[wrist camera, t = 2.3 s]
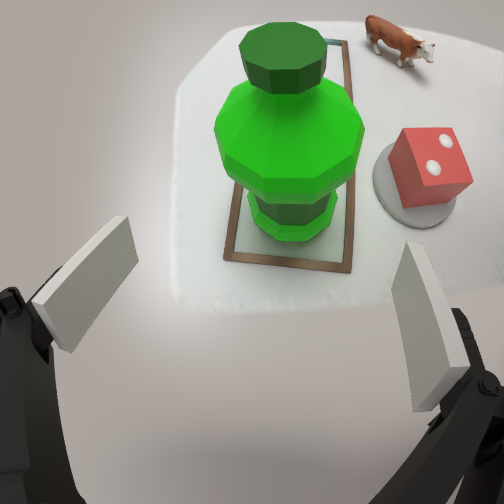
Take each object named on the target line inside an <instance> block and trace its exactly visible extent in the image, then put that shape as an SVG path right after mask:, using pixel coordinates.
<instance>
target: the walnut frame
mask: <svg viewBox="0 0 504 504" xmlns="http://www.w3.org/2000/svg"><path fill="white" fill-rule="evenodd" d="M323 39H324V40H325V41H326V43H327V44H331V45H340V46H342V55H343V66H344V80H345V91H346V93H347V94H348V96H349V98H350V99H351V101H352V103H353V95H352V82H351V71H350V61H349V52H348V43H347V41H344V40H336V39H326V38H323ZM242 191H243V186H242V185H240V184H239V183H237V182H236V181H235V185H234V191H233V197H232V204H231V210H230V216H229V222H228V229H227V235H226V242H225V248H224V255H223V259H224V260H230V261H239V262H248V263H257V264H266V265H275V266H284V267H294V268H303V269H313V270H322V271H332V272H342V273H351V269H352V255H353V239H354V217H355V170H354V173H353V175H352V177H351V178H350V179H349V180H347V195H346V221H345V239H344V254H343V263H337V262H327V261H317V260H308V259H298V258H289V257H279V256H270V255H260V254H251V253H241V252H234V245H235V238H236V231H237V224H238V218H239V211H240V205H241V198H242Z"/></svg>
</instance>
